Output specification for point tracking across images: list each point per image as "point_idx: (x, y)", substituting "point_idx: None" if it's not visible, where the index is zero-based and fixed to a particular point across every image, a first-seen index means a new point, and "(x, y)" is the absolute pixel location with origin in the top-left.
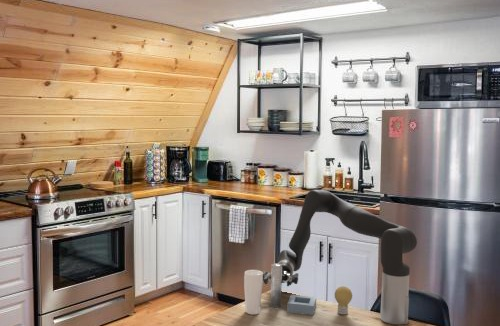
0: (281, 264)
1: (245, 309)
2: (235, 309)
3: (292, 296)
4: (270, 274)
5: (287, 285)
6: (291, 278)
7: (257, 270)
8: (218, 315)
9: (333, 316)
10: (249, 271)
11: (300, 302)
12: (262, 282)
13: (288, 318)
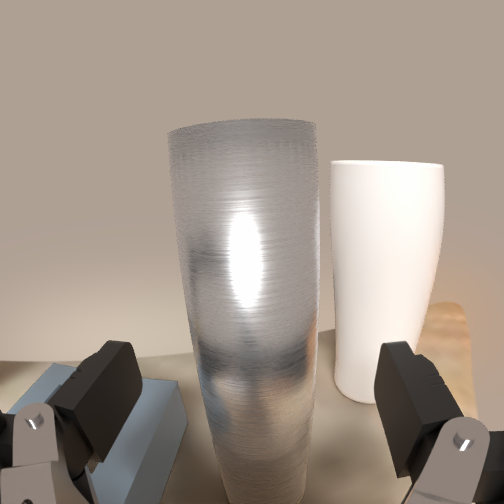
0: (172, 131)
1: None
2: (454, 380)
3: (116, 482)
4: (429, 494)
5: (137, 379)
6: (41, 409)
7: (391, 163)
8: (459, 327)
9: (7, 389)
10: (436, 174)
11: None
12: (330, 222)
13: (189, 371)
